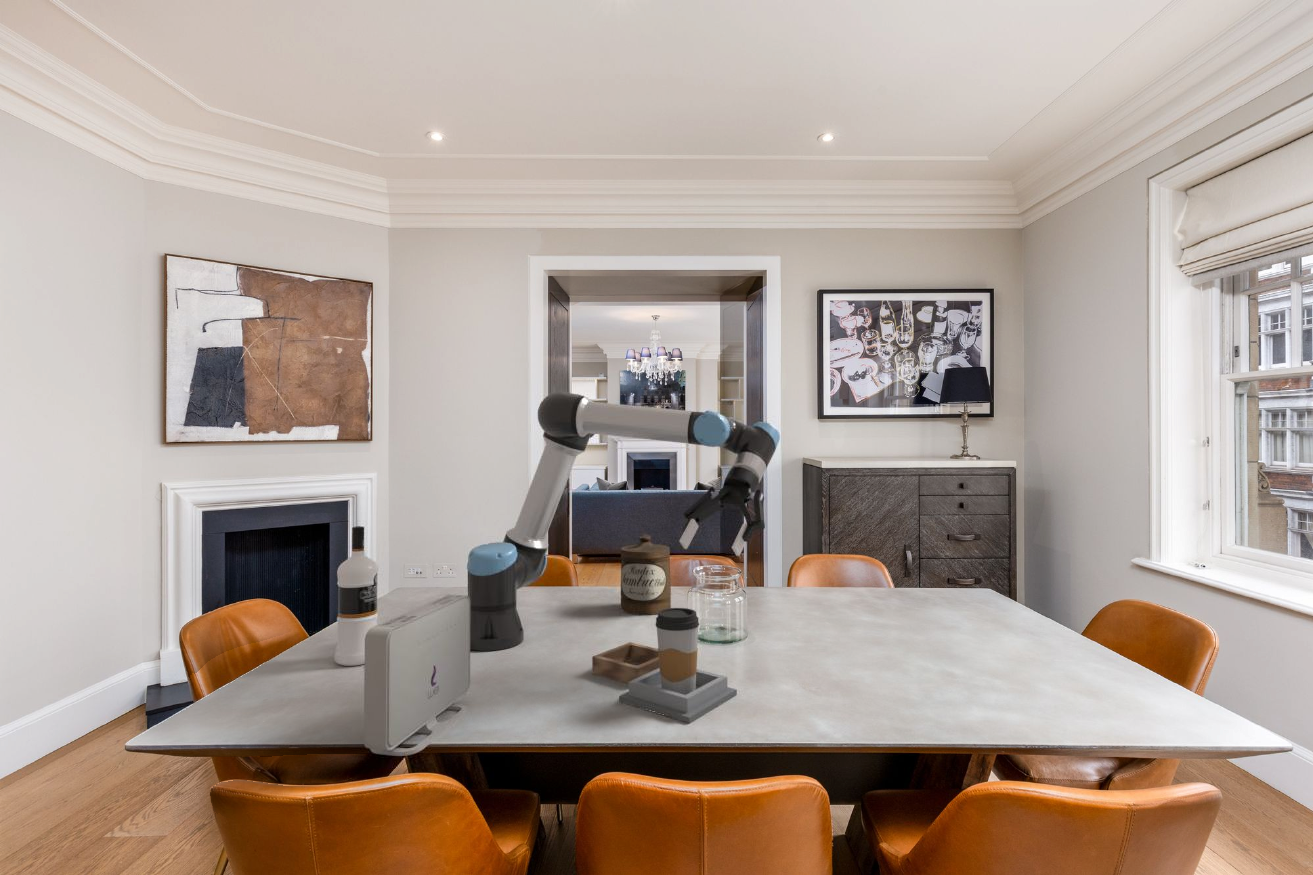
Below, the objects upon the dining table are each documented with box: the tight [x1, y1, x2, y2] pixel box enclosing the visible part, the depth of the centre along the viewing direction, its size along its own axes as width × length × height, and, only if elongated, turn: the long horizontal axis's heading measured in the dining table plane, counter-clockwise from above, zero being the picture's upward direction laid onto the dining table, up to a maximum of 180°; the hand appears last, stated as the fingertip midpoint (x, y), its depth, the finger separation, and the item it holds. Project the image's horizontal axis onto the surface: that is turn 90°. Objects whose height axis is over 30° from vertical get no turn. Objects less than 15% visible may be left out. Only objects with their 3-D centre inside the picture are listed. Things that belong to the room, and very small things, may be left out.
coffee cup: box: [654, 607, 700, 695], centre depth 120 cm, size 8×8×15 cm
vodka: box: [333, 525, 379, 667], centre depth 142 cm, size 9×9×30 cm
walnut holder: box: [591, 641, 660, 685], centre depth 135 cm, size 12×12×4 cm
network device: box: [363, 594, 471, 757], centre depth 107 cm, size 26×9×20 cm, turn 168°
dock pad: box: [618, 668, 738, 724], centre depth 120 cm, size 16×16×4 cm
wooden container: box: [620, 533, 672, 616], centre depth 188 cm, size 15×15×22 cm
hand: (708, 548), depth 137 cm, fingers open, 13 cm apart
